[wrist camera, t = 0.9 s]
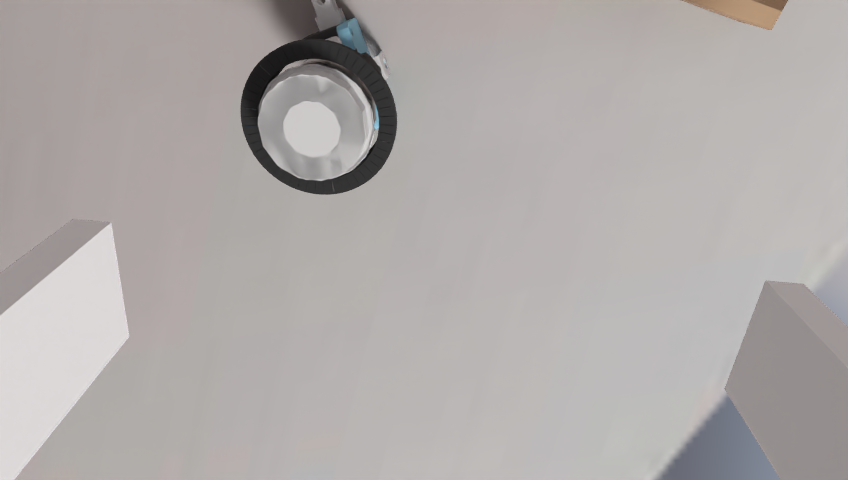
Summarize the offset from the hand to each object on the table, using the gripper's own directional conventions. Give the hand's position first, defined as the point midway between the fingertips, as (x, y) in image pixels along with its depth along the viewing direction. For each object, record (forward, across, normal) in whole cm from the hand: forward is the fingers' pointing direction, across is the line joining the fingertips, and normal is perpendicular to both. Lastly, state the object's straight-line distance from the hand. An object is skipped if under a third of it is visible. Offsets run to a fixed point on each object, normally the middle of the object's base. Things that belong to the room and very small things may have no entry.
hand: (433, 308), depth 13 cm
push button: (+19, -4, +2) cm, 19 cm away
